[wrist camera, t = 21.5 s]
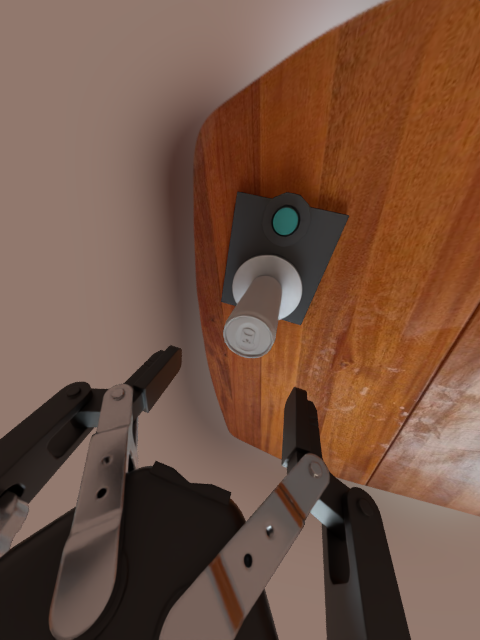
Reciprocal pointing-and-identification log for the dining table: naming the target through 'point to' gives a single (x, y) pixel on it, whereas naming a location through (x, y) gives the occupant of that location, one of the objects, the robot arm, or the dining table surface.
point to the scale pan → (273, 268)
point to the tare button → (285, 221)
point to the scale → (283, 242)
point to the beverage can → (254, 319)
